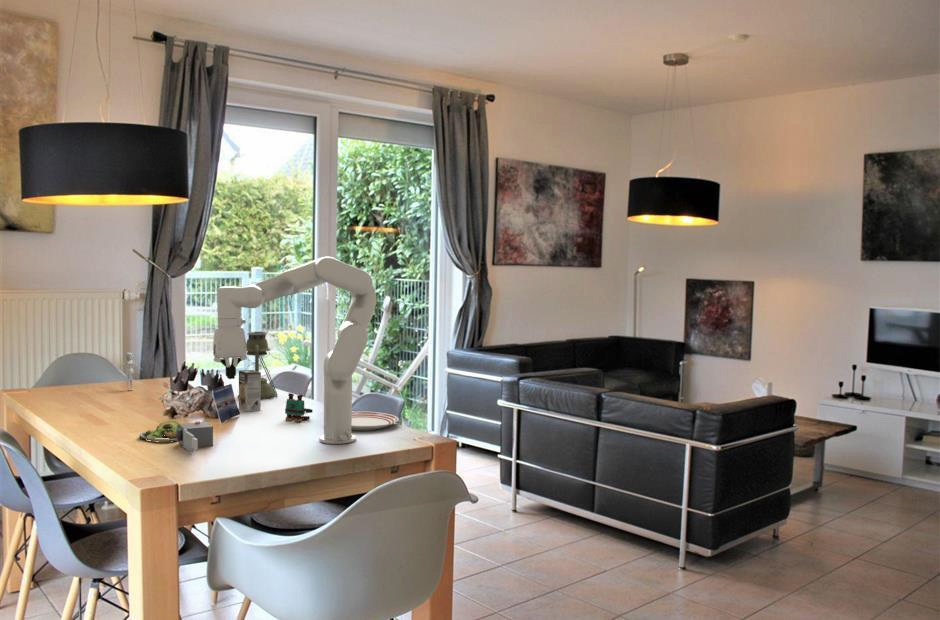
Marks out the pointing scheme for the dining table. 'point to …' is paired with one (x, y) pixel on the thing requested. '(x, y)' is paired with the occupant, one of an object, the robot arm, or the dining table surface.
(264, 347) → the green desk lamp
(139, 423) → the dining table surface
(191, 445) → the side door
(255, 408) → the coffee box
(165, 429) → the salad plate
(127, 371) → the human figurine
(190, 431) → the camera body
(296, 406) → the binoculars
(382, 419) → the dinner plate
